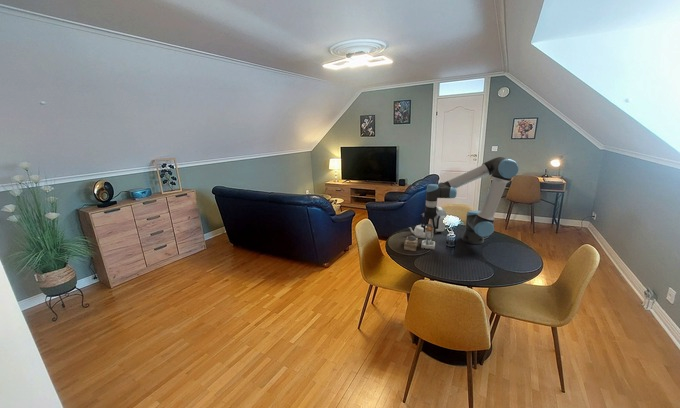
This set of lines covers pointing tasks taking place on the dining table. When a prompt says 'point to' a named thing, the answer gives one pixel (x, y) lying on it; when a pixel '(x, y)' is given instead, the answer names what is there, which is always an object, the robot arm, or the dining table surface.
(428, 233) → the pin
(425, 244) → the tray
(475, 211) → the robot arm
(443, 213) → the grey piece
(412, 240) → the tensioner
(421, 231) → the teapot
